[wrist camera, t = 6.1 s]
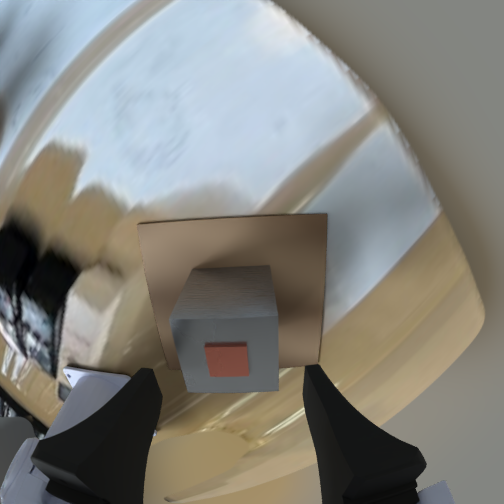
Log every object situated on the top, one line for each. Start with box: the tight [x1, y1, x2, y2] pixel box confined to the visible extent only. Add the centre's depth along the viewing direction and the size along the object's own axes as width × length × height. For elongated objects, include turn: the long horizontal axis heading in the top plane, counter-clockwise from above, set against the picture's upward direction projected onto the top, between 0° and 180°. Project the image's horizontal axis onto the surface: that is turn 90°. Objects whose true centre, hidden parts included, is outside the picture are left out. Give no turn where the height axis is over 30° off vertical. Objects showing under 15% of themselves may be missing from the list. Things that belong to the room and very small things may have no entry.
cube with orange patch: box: [169, 265, 279, 393], centre depth 16 cm, size 5×5×6 cm
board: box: [137, 214, 327, 370], centre depth 19 cm, size 12×12×3 cm
